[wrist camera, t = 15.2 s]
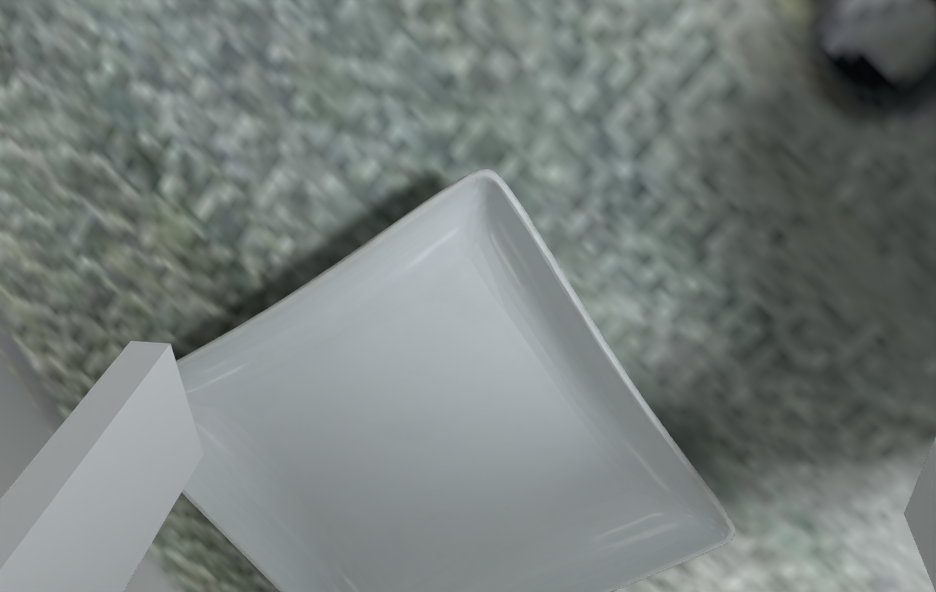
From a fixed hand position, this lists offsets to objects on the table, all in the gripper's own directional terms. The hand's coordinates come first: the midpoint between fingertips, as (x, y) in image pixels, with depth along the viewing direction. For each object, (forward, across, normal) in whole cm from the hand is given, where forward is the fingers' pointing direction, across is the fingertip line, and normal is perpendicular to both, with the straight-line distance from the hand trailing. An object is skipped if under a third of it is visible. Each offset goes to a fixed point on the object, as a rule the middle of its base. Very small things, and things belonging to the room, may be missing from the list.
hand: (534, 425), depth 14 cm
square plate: (+25, -8, -25) cm, 36 cm away
